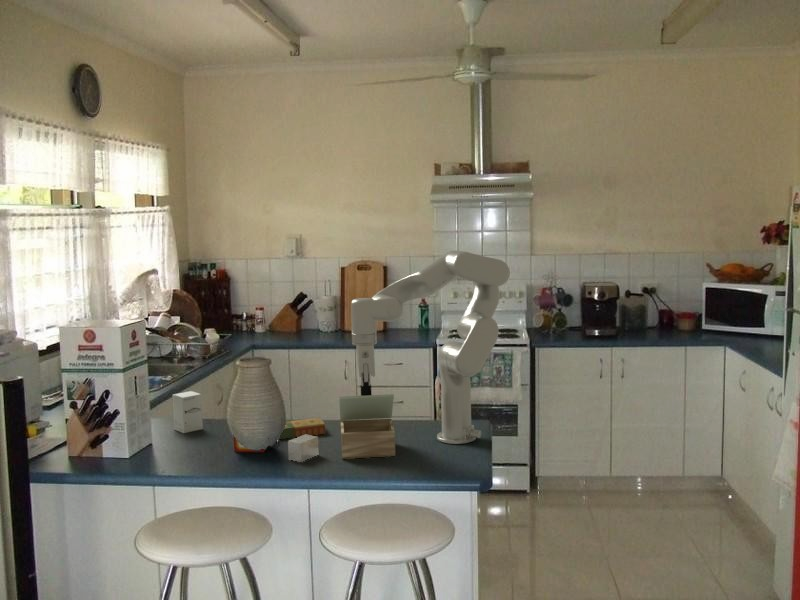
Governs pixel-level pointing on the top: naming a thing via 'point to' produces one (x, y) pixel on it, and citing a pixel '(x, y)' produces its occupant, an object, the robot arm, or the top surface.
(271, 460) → the top surface
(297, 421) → the carton
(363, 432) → the box
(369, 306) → the robot arm
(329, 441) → the top surface
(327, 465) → the top surface
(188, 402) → the supplement box
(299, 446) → the white rectangular block
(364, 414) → the lid
